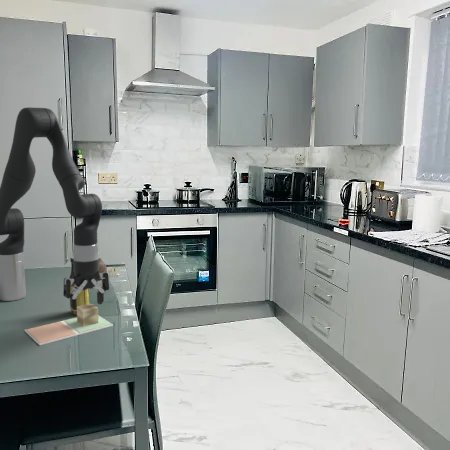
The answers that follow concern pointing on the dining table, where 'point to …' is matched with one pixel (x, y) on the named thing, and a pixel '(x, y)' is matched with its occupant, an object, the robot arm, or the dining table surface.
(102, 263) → the brown rounded lump
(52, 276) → the dining table surface
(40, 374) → the dining table surface
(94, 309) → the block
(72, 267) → the sauce bottle
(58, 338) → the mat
